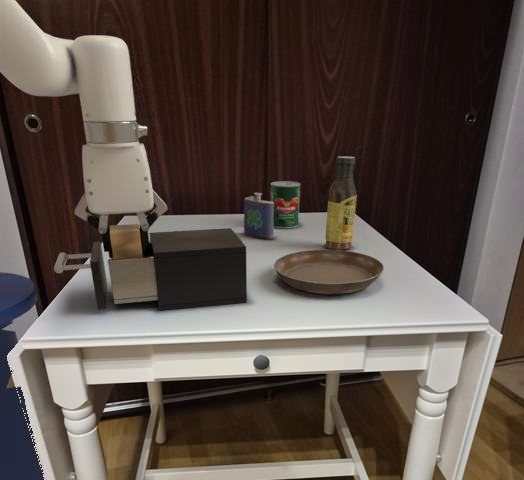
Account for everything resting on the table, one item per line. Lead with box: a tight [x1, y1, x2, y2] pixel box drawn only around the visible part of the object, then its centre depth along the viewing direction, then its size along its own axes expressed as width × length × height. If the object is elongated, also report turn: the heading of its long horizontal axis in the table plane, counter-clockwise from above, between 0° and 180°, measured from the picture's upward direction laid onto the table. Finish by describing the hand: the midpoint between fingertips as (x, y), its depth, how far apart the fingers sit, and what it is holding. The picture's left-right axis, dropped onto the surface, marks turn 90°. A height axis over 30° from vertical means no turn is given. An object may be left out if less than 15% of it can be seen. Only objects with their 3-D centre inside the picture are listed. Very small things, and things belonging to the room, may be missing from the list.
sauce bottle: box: [325, 155, 358, 251], centre depth 109 cm, size 7×6×20 cm
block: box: [109, 223, 143, 259], centre depth 79 cm, size 5×5×5 cm
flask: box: [243, 192, 275, 241], centre depth 119 cm, size 9×3×11 cm, turn 49°
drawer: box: [53, 240, 158, 310], centre depth 81 cm, size 19×12×8 cm, turn 105°
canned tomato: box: [270, 180, 301, 229], centre depth 130 cm, size 8×8×11 cm
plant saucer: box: [273, 249, 385, 295], centre depth 92 cm, size 21×21×3 cm
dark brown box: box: [148, 227, 248, 312], centre depth 84 cm, size 15×13×10 cm
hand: (127, 253), depth 80 cm, fingers closed on block, 4 cm apart
